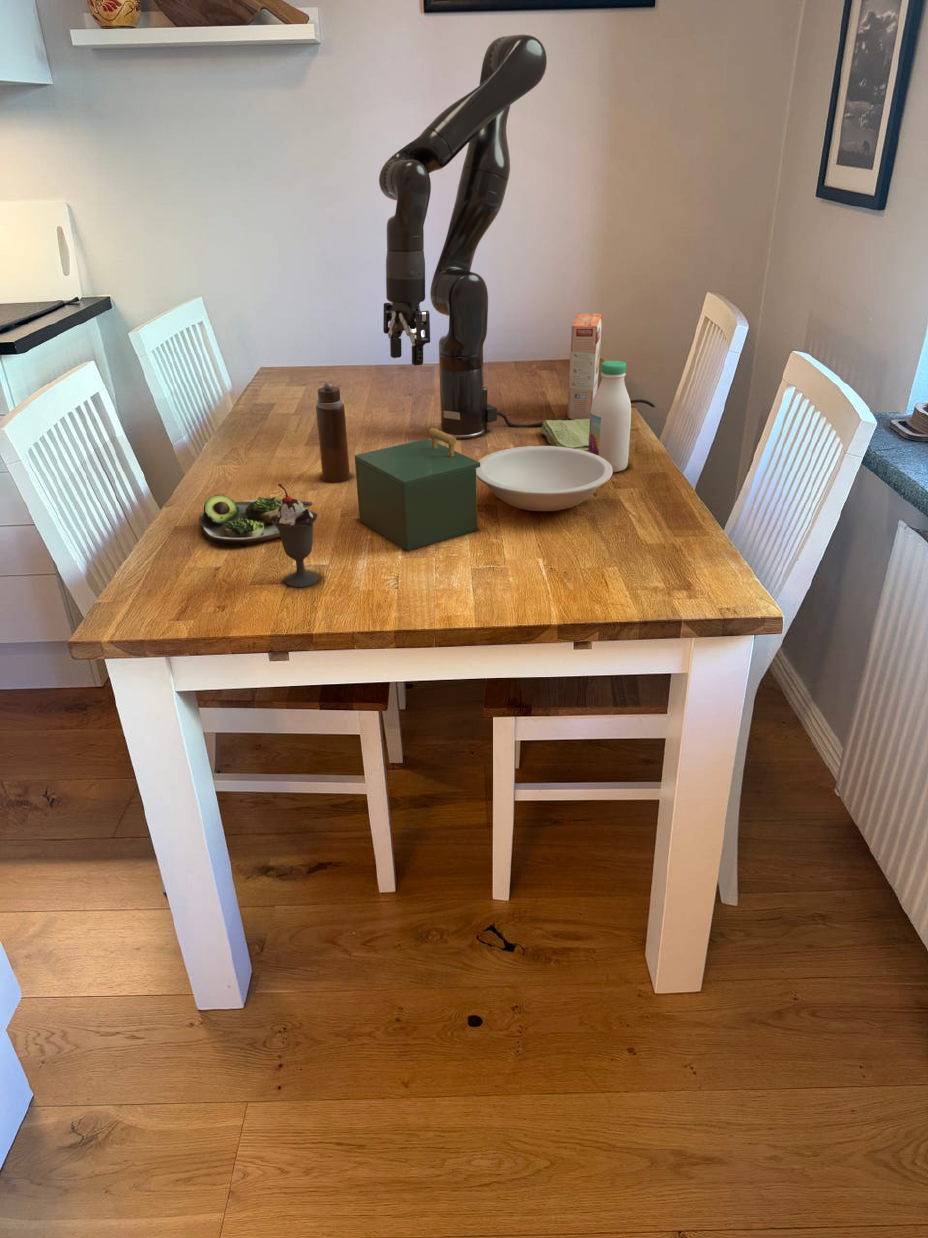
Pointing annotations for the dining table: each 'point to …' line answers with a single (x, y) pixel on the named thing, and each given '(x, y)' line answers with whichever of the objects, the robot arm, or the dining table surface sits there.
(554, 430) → the washcloth
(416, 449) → the bin lid
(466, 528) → the bin
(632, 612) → the dining table surface
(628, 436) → the milk bottle
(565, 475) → the soup bowl
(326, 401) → the pepper mill
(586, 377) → the cracker box
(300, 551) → the sundae
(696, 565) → the dining table surface
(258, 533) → the salad plate
